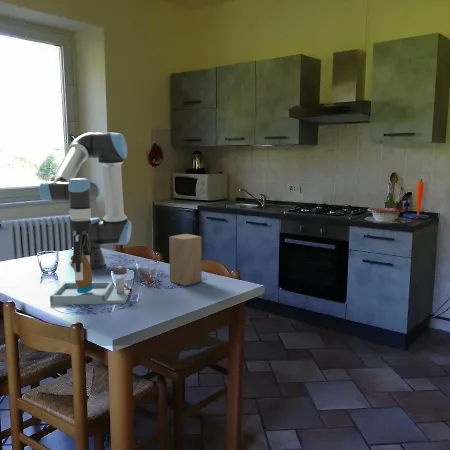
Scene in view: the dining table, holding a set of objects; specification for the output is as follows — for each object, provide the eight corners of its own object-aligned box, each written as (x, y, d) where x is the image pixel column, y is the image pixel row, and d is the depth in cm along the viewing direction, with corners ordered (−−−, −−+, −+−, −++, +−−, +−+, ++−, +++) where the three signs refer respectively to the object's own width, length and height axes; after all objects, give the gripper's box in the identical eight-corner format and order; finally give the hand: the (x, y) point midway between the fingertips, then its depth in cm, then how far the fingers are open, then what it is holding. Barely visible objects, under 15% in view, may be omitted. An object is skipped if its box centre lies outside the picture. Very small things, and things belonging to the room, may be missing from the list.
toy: (83, 284, 182) (81, 247, 179) (99, 285, 180) (98, 248, 178) (67, 293, 170) (65, 254, 167) (84, 294, 169) (82, 255, 166)
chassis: (64, 290, 183) (63, 273, 182) (131, 289, 185) (131, 272, 184) (50, 304, 165) (49, 286, 164) (125, 303, 167) (124, 285, 166)
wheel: (114, 271, 177) (114, 265, 177) (127, 271, 177) (127, 265, 177) (112, 274, 172) (112, 268, 172) (125, 274, 172) (125, 268, 172)
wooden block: (169, 281, 196) (168, 236, 193) (186, 277, 204) (186, 233, 201) (184, 286, 190) (184, 239, 187) (202, 281, 197) (201, 236, 194)
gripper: (78, 215, 182) (80, 268, 185) (61, 224, 158) (64, 284, 162) (97, 215, 182) (99, 267, 186) (83, 224, 159) (86, 284, 162)
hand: (83, 275), depth 174 cm, fingers closed on toy, 11 cm apart
